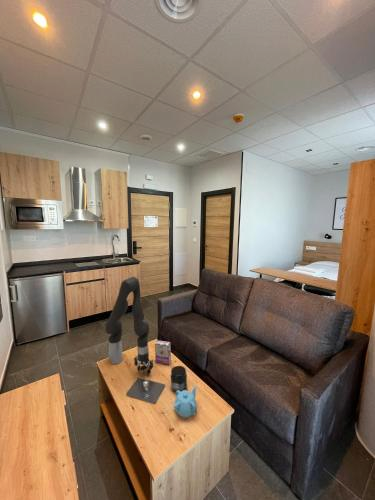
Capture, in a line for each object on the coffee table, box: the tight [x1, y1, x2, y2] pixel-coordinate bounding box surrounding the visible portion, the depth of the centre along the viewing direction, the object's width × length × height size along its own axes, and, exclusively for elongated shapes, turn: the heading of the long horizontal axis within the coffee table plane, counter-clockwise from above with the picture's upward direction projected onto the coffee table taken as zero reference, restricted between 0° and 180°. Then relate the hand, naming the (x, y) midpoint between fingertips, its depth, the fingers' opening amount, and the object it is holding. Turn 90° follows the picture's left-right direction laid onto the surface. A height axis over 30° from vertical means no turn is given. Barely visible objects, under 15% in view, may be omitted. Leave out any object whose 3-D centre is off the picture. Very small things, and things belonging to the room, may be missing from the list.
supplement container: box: [170, 365, 188, 393], centre depth 135 cm, size 10×10×12 cm
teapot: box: [173, 384, 198, 420], centre depth 119 cm, size 13×14×11 cm
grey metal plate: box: [125, 376, 166, 405], centre depth 133 cm, size 20×14×6 cm
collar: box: [138, 365, 149, 378], centre depth 149 cm, size 6×6×4 cm
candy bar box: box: [154, 339, 172, 366], centre depth 159 cm, size 11×5×16 cm, turn 73°
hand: (144, 372), depth 149 cm, fingers open, 7 cm apart
